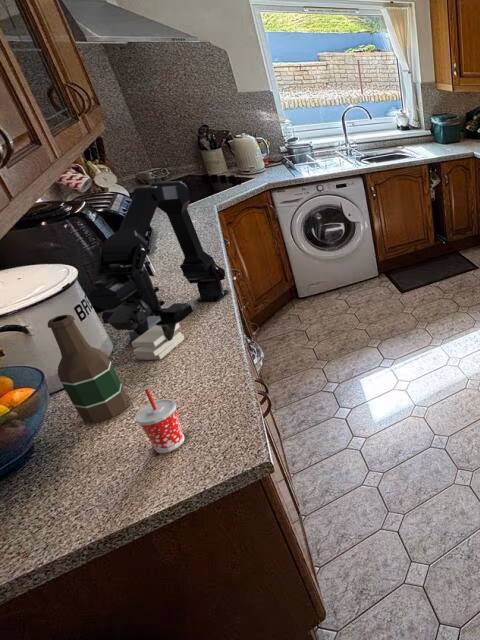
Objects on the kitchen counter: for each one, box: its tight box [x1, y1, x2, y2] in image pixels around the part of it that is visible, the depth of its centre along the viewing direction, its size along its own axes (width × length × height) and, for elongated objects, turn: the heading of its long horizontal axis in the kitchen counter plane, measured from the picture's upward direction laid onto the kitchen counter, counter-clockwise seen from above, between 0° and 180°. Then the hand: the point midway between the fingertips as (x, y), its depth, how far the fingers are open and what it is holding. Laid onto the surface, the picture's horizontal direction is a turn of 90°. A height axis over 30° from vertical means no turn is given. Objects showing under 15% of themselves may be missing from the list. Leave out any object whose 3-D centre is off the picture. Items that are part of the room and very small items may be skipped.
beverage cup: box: [134, 388, 186, 454], centre depth 80 cm, size 6×6×14 cm
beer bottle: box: [47, 314, 129, 424], centre depth 85 cm, size 8×8×24 cm
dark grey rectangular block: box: [127, 316, 161, 342], centre depth 117 cm, size 11×4×3 cm, turn 2°
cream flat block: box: [132, 330, 185, 361], centre depth 109 cm, size 10×6×3 cm, turn 2°
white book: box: [131, 322, 181, 348], centre depth 108 cm, size 9×6×1 cm, turn 2°
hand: (159, 340), depth 109 cm, fingers closed on white book, 5 cm apart
